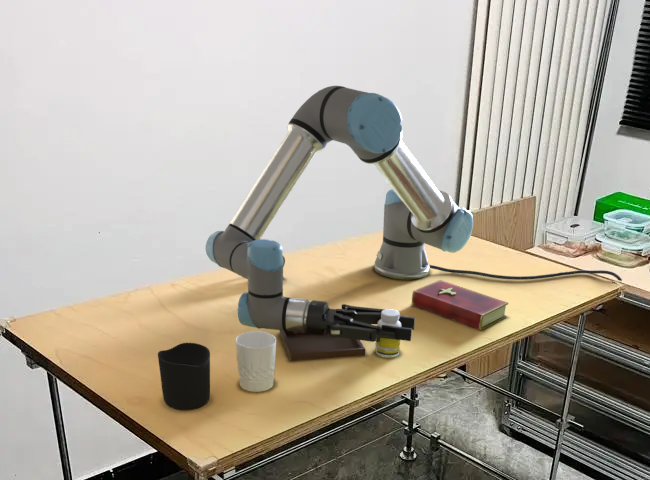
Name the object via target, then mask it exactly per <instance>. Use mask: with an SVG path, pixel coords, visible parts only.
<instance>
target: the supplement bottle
mask: <svg viewBox="0 0 650 480" xmlns="http://www.w3.org/2000/svg"><path fill="white" fill-rule="evenodd" d="M384 309H385V308H384ZM399 316H400V312H399V310H397V309H392V308H386V309H385V310H383V311H382V312H381V319H380V320H379V321H378V323H377V324H376V326H379V327H381V328H382V325H388V326H396V327H401V326H402V325H401V323H400V321H398V320H399ZM374 349H375V350H374V351H375V354H376V355H377V356H379V357H382V358H388V359H389V358H395V357H397V356H399V355H400V351H401V350H400V349H401V340H396V339H388V338H381V337H380V342H376V341H375V348H374Z"/></svg>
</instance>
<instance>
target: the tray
mask: <svg viewBox="0 0 650 480" xmlns="http://www.w3.org/2000/svg"><path fill="white" fill-rule="evenodd" d="M278 331H279V332H278V333H279V337H280V340H281V342H282V344H283V347H284V349H285V351H286V353H287V356H288V359H289V361H290V362H297V361H311V360H320V359H322V360H323V359H324V360H325V359H337V358H348V357H351V358H352V357H365V356H366V347H365V346H364V344H363V343H362V340H356V339H349V338H332V337H330V333H331V331H328V330H327V331H326V333H325V334H324V335H313V334H309V333H308V332H305V333H297V334H295V333H294V332H290V331H283V330H278Z"/></svg>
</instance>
